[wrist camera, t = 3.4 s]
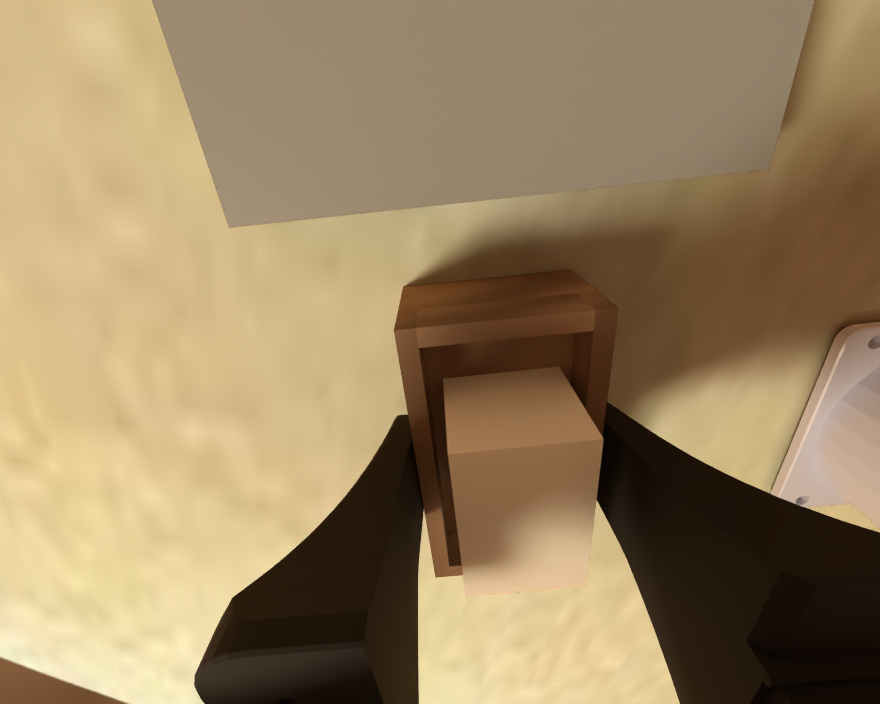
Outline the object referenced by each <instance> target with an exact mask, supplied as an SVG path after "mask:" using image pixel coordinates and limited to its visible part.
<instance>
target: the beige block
mask: <svg viewBox="0 0 880 704" xmlns="http://www.w3.org/2000/svg"><path fill="white" fill-rule="evenodd" d="M443 386H444V402H445V418H446V435H447V451H448V460H449V468H450V476H451V484H452V492H453V500H454V508H455V516H456V524H457V532H458V539H459V547H460V555H461V563H462V571H463V579H464V587H465V595H466V597H467V596H479V595H490V594H501V593H512V592H524V591H535V590H546V589H558V588H569V587H580V586H586V584H587V576H588V567H589V559H590V550H591V542H592V533H593V525H594V516H595V508H596V499H597V491H598V482H599V474H600V466H601V457H602V449H603V440H604V439H603V437H602V435H601V434H600V432H599V431H598V429H597V427H596V426H595V424H594V422H593V421H592V419H591V418H590V416H589V414H588V413H587V411H586V409H585V408H584V406H583V404H582V403H581V401H580V400H579V398H578V396H577V395H576V393H575V391H574V390H573V388H572V387H571V385H570V383H569V382H568V380H567V378H566V377H565V375H564V374H563V372H562V370H561V369H560V367H549V368H540V369H530V370H520V371H511V372H501V373H492V374H482V375H472V376H463V377H453V378H443Z"/></svg>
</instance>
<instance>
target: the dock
mask: <svg viewBox="0 0 880 704" xmlns="http://www.w3.org/2000/svg"><path fill="white" fill-rule="evenodd" d="M814 1H815V0H152V2H153V5H154V8H155V11H156V14H157V17H158V20H159V22H160V25H161V28H162V31H163V34H164V37H165V40H166V43H167V46H168V49H169V52H170V55H171V58H172V61H173V64H174V67H175V70H176V73H177V76H178V79H179V82H180V84H181V87H182V90H183V93H184V96H185V99H186V102H187V105H188V108H189V111H190V114H191V117H192V120H193V123H194V126H195V129H196V132H197V135H198V138H199V141H200V143H201V146H202V149H203V152H204V155H205V158H206V161H207V164H208V167H209V170H210V173H211V176H212V179H213V182H214V185H215V188H216V191H217V194H218V197H219V200H220V202H221V205H222V208H223V211H224V214H225V217H226V220H227V223H228V226H229V228H232V227H241V226H250V225H260V224H269V223H278V222H288V221H297V220H306V219H315V218H325V217H334V216H343V215H353V214H362V213H371V212H380V211H390V210H399V209H408V208H418V207H427V206H436V205H445V204H455V203H464V202H473V201H482V200H492V199H501V198H510V197H520V196H529V195H538V194H547V193H557V192H566V191H575V190H585V189H594V188H603V187H612V186H622V185H631V184H640V183H650V182H659V181H668V180H677V179H687V178H696V177H705V176H714V175H724V174H733V173H742V172H752V171H761V170H769V169H770V166H771V162H772V158H773V154H774V151H775V147H776V143H777V140H778V136H779V132H780V128H781V125H782V121H783V117H784V113H785V110H786V106H787V102H788V98H789V95H790V91H791V87H792V84H793V80H794V76H795V72H796V69H797V65H798V61H799V57H800V54H801V50H802V46H803V42H804V39H805V35H806V31H807V27H808V24H809V20H810V16H811V13H812V9H813V5H814Z"/></svg>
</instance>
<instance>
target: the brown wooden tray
mask: <svg viewBox="0 0 880 704" xmlns="http://www.w3.org/2000/svg"><path fill="white" fill-rule="evenodd" d="M617 314H618V307H616V306H615V305H614V304H613V303H611V302H610V301H609V300H608V299H606V298H605V297H604V296H603V295H601V294H600V293H599V292H598V291H596V290H595V289H594V288H593V287H591V286H590V285H589V284H588V283H586V282H585V281H584V280H583V279H581V278H580V277H579V276H578V275H576V274H575V273H574V272H573V271H572V270H563V271H553V272H543V273H533V274H524V275H514V276H504V277H494V278H485V279H475V280H465V281H455V282H446V283H436V284H426V285H417V286H407V287H403V290H402V295H401V300H400V305H399V309H398V314H397V319H396V323H395V328H394V333H395V339H396V345H397V351H398V357H399V363H400V369H401V375H402V381H403V387H404V393H405V399H406V405H407V411H408V417H409V422H410V428H411V434H412V440H413V446H414V452H415V458H416V464H417V470H418V476H419V482H420V488H421V494H422V500H423V506H424V511H425V517H426V523H427V529H428V535H429V541H430V547H431V553H432V559H433V565H434V571H435V577H446V576H458V575H463V571H462V563H461V555H460V547H459V539H458V532H457V524H456V516H455V508H454V500H453V492H452V484H451V476H450V468H449V460H448V451H447V435H446V418H445V402H444V386H443V378H453V377H463V376H472V375H482V374H492V373H501V372H511V371H520V370H530V369H540V368H549V367H560V369H561V370H562V372H563V374H564V375H565V377H566V378H567V380H568V382H569V383H570V385H571V387H572V388H573V390H574V391H575V393H576V395H577V396H578V398H579V400H580V401H581V403H582V404H583V406H584V408H585V409H586V411H587V413H588V414H589V416H590V418H591V419H592V421H593V422H594V424H595V426H596V427H597V429H598V431H599V432H600V434H601V435H602V437H603V429H604V421H605V412H606V404H607V396H608V388H609V380H610V371H611V363H612V355H613V347H614V339H615V330H616V322H617Z"/></svg>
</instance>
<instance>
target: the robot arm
mask: <svg viewBox="0 0 880 704" xmlns="http://www.w3.org/2000/svg"><path fill="white" fill-rule="evenodd" d="M603 439H604V440H603V449H602V457H601V466H600V474H599V482H598V491H597V501H598V503H599V505H600V507H601V509H602V511H603V512H604V514H605V516H606V518H607V520H608V522H609V524H610V526H611V528H612V530H613V532H614V534H615V536H616V537H617V539H618V541H619V543H620V545H621V547H622V550H623V552H624V554H625V556H626V558H627V561H628V563H629V565H630V568H631V570H632V573H633V575H634V578H635V580H636V583H637V585H638V588H639V590H640V593H641V595H642V598H643V601H644V603H645V606H646V609H647V611H648V614H649V617H650V619H651V622H652V624H653V627H654V630H655V632H656V635H657V638H658V641H659V644H660V647H661V649H662V652H663V655H664V658H665V661H666V663H667V666H668V669H669V672H670V675H671V678H672V681H673V684H674V687H675V690H676V693H677V696H678V699H679V702H680V704H880V533H879V532H876V531H873V530H869V529H866V528H863V527H860V526H857V525H853V524H850V523H847V522H844V521H841V520H838V519H835V518H832V517H829V516H827V515H824V514H821V513H819V512H816V511H813V510H810V509H808V507H820V506H831V505H843V504H850V505H852V506H853V507H854V508H855V509H856V510H858V511H859V512H860V513H861V514H863V515H864V516H865V517H866V518H867V519H869V520H870V521H871V522H872V523H873V524H875V525H876V526H877V527H878V528H879V529H880V322H873V323H862V324H855V325H851V326H848V327H846V328H844V329H843V330H841V331H840V332H839V333H838V334H837V336H836V337H835V339H834V341H833V343H832V346H831V348H830V351H829V353H828V356H827V358H826V360H825V363H824V365H823V368H822V370H821V372H820V375H819V377H818V380H817V382H816V385H815V387H814V389H813V392H812V394H811V397H810V399H809V401H808V404H807V406H806V409H805V411H804V414H803V416H802V418H801V421H800V423H799V426H798V428H797V430H796V433H795V435H794V438H793V440H792V442H791V445H790V447H789V450H788V452H787V455H786V457H785V459H784V462H783V464H782V467H781V469H780V471H779V474H778V476H777V479H776V481H775V484H774V486H773V488H772V491H771V493H767V492H765V491H763V490H760V489H758V488H756V487H753V486H751V485H749V484H746V483H744V482H742V481H740V480H738V479H736V478H733V477H731V476H729V475H727V474H725V473H723V472H721V471H719V470H717V469H715V468H713V467H711V466H709V465H707V464H705V463H703V462H702V461H700V460H698V459H696V458H694V457H692V456H691V455H689V454H687V453H685V452H684V451H682V450H680V449H679V448H677V447H675V446H674V445H672V444H670V443H668V442H667V441H665V440H664V439H662V438H660V437H659V436H657V435H656V434H654V433H653V432H651V431H649V430H648V429H646V428H645V427H643V426H642V425H640V424H639V423H637V422H636V421H634V420H633V419H632V418H630V417H629V416H627V415H626V414H624V413H623V412H621V411H620V410H618V409H617V408H616V407H614V406H613V405H611V404H610V403H608V402H607V404H606V412H605V421H604V429H603ZM423 510H424V506H423V500H422V494H421V488H420V482H419V476H418V470H417V464H416V458H415V452H414V446H413V440H412V434H411V428H410V422H409V417H408V415H398V416H397V417H396V418H395V420H394V422H393V424H392V426H391V428H390V430H389V432H388V434H387V436H386V437H385V439H384V441H383V443H382V444H381V446H380V448H379V449H378V451H377V452H376V454H375V456H374V457H373V459H372V460H371V462H370V463H369V465H368V466H367V468H366V469H365V471H364V472H363V473H362V475H361V476H360V478H359V479H358V480H357V482H356V483H355V485H354V486H353V487H352V488H351V490H350V491H349V492H348V493H347V495H346V496H345V497H344V498H343V500H342V501H341V502H340V503H339V504H338V505H337V507H336V508H335V509H334V510H333V511H332V512H331V513H330V514H329V515H328V516H327V517H326V519H325V520H324V521H323V522H322V523H321V524H320V525H319V526H318V527H317V528H316V529H315V530H314V531H313V532H312V533H311V534H310V535H309V536H308V537H307V538H306V539H305V540H304V541H302V542H301V543H300V544H299V545H298V546H297V547H296V548H295V549H294V550H292V551H291V552H290V553H289V554H288V555H287V556H286V557H284V558H283V559H282V560H281V561H280V562H278V563H277V564H276V565H275V566H274V567H272V568H271V569H270V570H269V571H267V572H266V573H265V574H263V575H262V576H261V577H259V578H258V579H257V580H255V581H254V582H253V583H252V584H250V585H249V586H248V587H246V588H245V589H244V590H242V591H241V592H240V593H238V594H237V595H235V596H234V597H233V598H232V600H231V602H230V603H229V605H228V607H227V609H226V611H225V612H224V614H223V616H222V618H221V620H220V622H219V624H218V626H217V628H216V630H215V632H214V634H213V636H212V639H211V641H210V643H209V645H208V647H207V650H206V652H205V654H204V656H203V658H202V661H201V663H200V665H199V667H198V669H197V672H196V674H195V683H194V685H195V688H196V690H197V692H198V694H199V696H200V698H201V700H202V701H203V702H204V703H205V704H419V692H418V566H419V553H420V542H421V532H422V521H423Z"/></svg>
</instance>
